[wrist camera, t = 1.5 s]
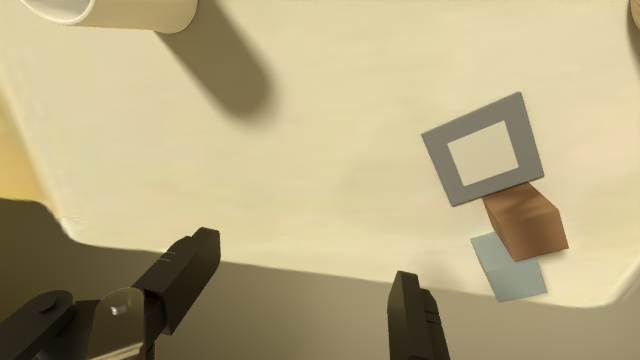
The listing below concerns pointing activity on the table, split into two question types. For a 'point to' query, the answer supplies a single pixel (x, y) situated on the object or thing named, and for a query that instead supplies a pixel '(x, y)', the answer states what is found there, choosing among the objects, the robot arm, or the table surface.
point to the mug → (117, 13)
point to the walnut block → (525, 222)
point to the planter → (636, 12)
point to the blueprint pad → (485, 150)
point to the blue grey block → (507, 270)
